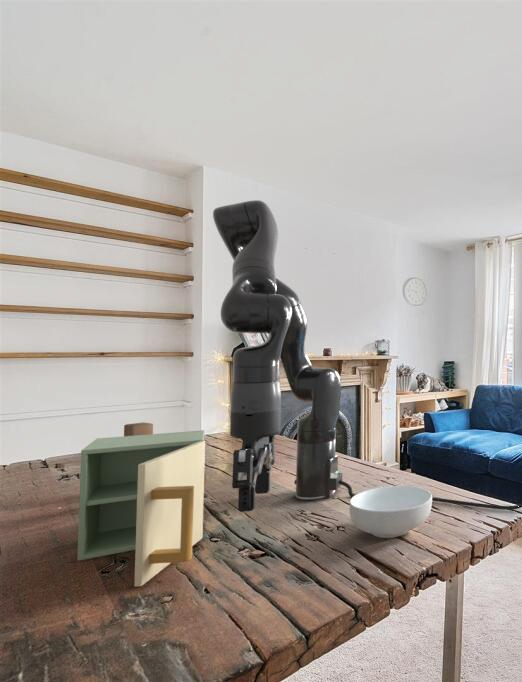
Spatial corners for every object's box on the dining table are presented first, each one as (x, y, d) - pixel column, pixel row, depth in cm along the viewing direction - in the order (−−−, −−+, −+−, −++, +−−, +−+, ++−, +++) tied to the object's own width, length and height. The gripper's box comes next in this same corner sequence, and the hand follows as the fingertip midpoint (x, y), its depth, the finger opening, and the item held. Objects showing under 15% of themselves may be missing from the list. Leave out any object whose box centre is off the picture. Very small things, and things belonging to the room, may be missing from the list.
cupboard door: (234, 536, 86) (236, 440, 87) (181, 583, 69) (185, 463, 69) (197, 538, 85) (199, 441, 85) (134, 586, 68) (138, 464, 68)
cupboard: (199, 537, 86) (202, 439, 86) (77, 561, 76) (81, 450, 76) (201, 517, 96) (204, 430, 96) (93, 536, 86) (96, 438, 86)
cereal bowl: (445, 521, 96) (446, 489, 96) (403, 554, 80) (404, 516, 80) (381, 510, 101) (382, 480, 101) (330, 540, 85) (331, 504, 86)
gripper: (245, 402, 80) (244, 489, 80) (214, 414, 66) (213, 519, 66) (290, 401, 82) (288, 486, 82) (268, 413, 68) (267, 515, 68)
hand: (254, 501), depth 74 cm, fingers open, 8 cm apart
